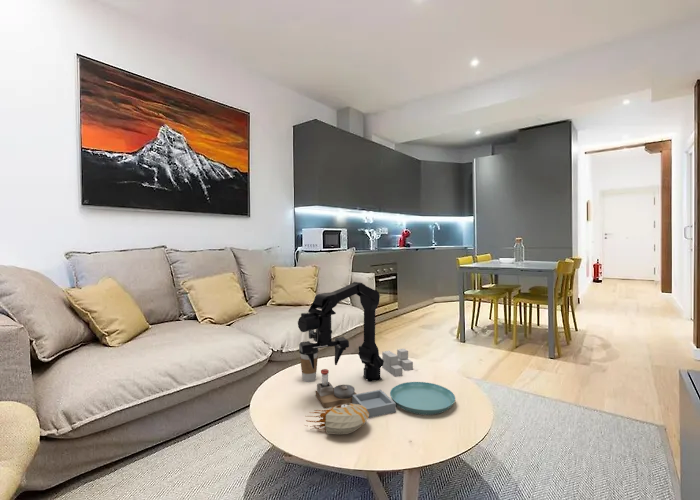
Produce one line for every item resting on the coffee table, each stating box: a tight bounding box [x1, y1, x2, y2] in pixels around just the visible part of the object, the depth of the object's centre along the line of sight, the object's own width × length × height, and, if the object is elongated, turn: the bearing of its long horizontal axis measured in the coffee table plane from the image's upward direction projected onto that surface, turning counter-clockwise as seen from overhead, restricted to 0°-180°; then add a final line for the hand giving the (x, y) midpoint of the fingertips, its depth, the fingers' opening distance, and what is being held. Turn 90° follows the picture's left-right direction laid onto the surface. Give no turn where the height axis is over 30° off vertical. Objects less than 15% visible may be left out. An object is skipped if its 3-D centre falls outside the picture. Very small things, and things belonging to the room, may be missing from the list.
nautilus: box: [303, 403, 369, 436], centre depth 119 cm, size 8×22×15 cm
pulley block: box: [314, 381, 357, 409], centre depth 140 cm, size 14×11×5 cm
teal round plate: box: [389, 381, 456, 416], centre depth 137 cm, size 24×24×3 cm
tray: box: [351, 389, 397, 419], centre depth 133 cm, size 12×12×3 cm
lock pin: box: [320, 368, 330, 388], centre depth 141 cm, size 3×3×9 cm
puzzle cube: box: [381, 348, 414, 378], centre depth 168 cm, size 12×12×8 cm
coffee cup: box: [298, 342, 319, 383], centre depth 158 cm, size 8×8×15 cm
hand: (324, 366), depth 140 cm, fingers open, 9 cm apart
